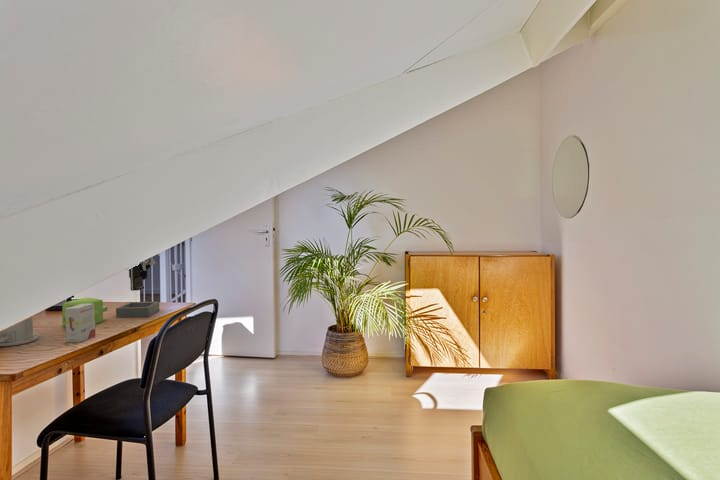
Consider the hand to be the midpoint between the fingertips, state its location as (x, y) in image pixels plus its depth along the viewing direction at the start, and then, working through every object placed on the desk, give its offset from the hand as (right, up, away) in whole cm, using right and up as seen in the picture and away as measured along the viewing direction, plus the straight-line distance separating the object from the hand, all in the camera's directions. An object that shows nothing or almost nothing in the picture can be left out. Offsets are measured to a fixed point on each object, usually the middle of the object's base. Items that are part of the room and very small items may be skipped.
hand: (138, 278), depth 178 cm
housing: (0, -16, +1) cm, 16 cm away
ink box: (0, -18, -37) cm, 41 cm away
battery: (0, -5, 0) cm, 5 cm away
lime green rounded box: (-12, -17, -18) cm, 27 cm away
